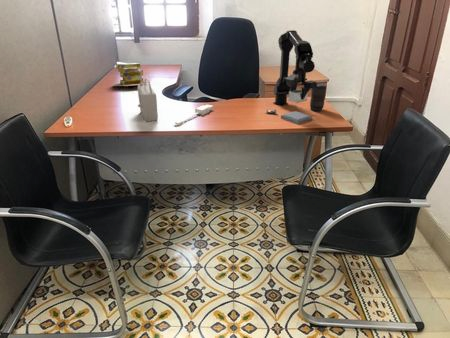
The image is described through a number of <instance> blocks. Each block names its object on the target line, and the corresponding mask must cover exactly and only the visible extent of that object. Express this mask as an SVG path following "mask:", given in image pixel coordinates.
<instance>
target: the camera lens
mask: <svg viewBox="0 0 450 338" xmlns="http://www.w3.org/2000/svg"><path fill="white" fill-rule="evenodd" d="M316 83H317V87H316V88H312V89H310V90H311V92H310V93H311V96H310V101H309V102H310V103H309V105H310V106H309V108H310V110H311V111H313V112H322V111H323V108H324V106H325V99H326V93H327V84H326V83H325V82H324V83H323V82H316Z"/></svg>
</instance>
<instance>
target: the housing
mask: <svg viewBox="0 0 450 338" xmlns="http://www.w3.org/2000/svg"><path fill="white" fill-rule="evenodd" d="M308 93H309V92H308ZM308 93H307V94H306V96H305V98H304V99H303V100H302V89H301V88H298V89H297V88H296V90H293V91H291V90H290V91H289V95H288V98H287V101H289V102H291V103H295V104H298V103H302V102H305V101H308V95H309V94H308Z"/></svg>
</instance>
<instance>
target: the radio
mask: <svg viewBox="0 0 450 338" xmlns="http://www.w3.org/2000/svg"><path fill="white" fill-rule="evenodd" d="M142 70H143V69H140V68H139V71H140V73H141V83H140V85H137V93H138V94H137V95H138V100H139V101H138V102H139V104H137V107H138V108H139V109H140V110H139V113H140V114H141V117H143V119H144V121H145V122H153V121H158V120H159V119H158V118H159V115H158V113H159V112H158V101H157V94H156V93H155V91H154V90H153V88H152V86H151V82H150V80H149V77H145V78H144V82H145V84H143V83H142ZM146 82H148V83H146Z"/></svg>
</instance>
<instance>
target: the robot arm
mask: <svg viewBox="0 0 450 338" xmlns="http://www.w3.org/2000/svg"><path fill="white" fill-rule="evenodd" d="M278 47H279V50H280V51H281V53H280V55H281V56H280V69H279V77H278V79H277V80H276V85H275V86H274V88H273V94H274V95H275V97H274V99H275V100H274V102H272V103H273V104H274V105H277V106H280V107H281V106H284V105H285V106H286V105H288V104H289V102H287V101H288V97H287V96H289V91H293V90H297V86H298V85H302V87H300V89H301V90H302V100H303V99H304V98H305V96H306V94H307V93H309V91H310V90H312V88H316V87H317V83H318V82H317V81H314V80H308V78H307V73H311V72H313V71H314V70H315V67H316V65H315V62H314V61H313V60H312V59H313V57H314V51H313V49H312V45H311V43H310V42H309V41H306V40H303V39H302V38H301V36H300V35H299V34H298V32H297V30H294V29H293V30H289V29H288V30H286V31H285V33H284V32H283V34H280V36H279V38H278ZM293 49H294V53H295V66H294V67H295V69H294V70H293V71H292V74H289V67H290V66H289V65H290V56H291V54H290V53H291V52H292V50H293Z"/></svg>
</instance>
